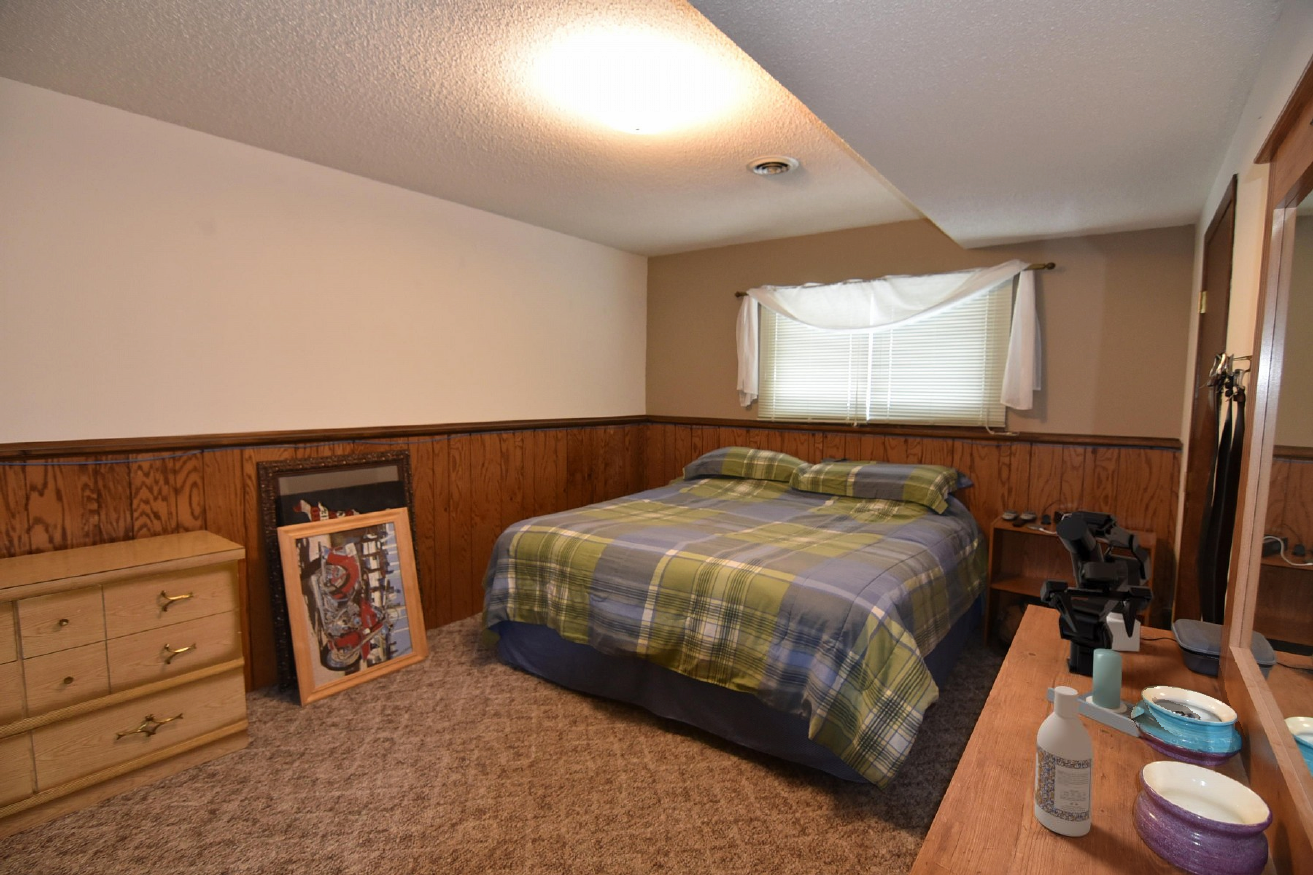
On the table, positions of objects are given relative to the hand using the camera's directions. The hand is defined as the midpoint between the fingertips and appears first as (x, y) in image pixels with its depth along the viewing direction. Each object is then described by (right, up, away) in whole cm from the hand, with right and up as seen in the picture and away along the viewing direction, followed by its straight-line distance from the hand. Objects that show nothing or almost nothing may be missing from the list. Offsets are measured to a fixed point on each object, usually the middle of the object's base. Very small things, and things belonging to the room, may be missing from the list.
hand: (1103, 634), depth 128 cm
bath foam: (-29, -18, -33) cm, 48 cm away
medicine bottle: (+21, -11, +27) cm, 36 cm away
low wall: (-6, -14, -5) cm, 16 cm away
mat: (-1, -14, -2) cm, 14 cm away
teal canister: (-1, -13, -2) cm, 13 cm away
